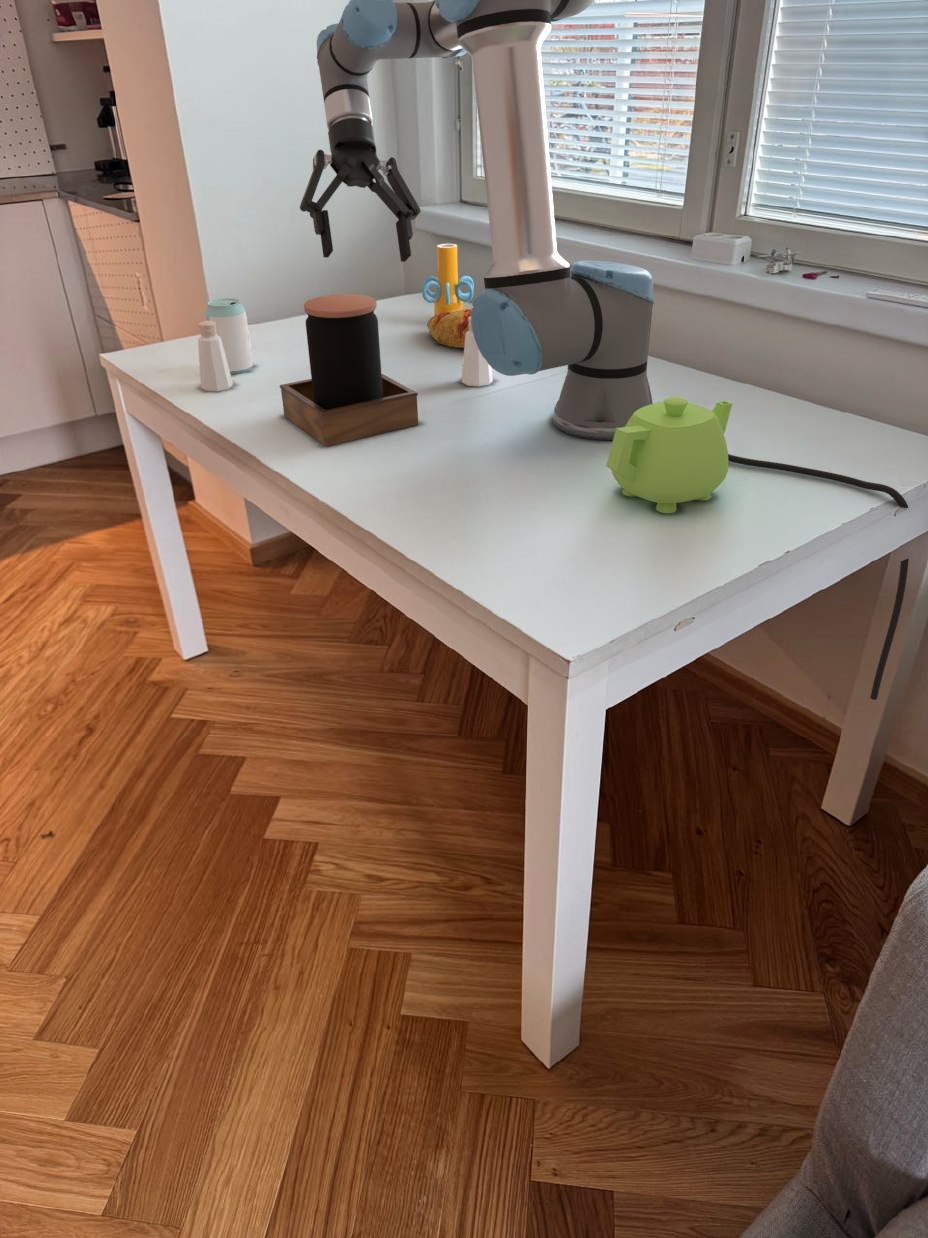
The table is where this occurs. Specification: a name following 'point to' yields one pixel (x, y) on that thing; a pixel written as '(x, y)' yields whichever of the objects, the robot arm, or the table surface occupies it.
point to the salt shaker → (212, 359)
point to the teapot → (671, 452)
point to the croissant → (450, 327)
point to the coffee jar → (343, 350)
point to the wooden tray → (350, 412)
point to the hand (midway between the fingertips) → (368, 256)
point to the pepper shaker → (474, 363)
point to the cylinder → (447, 282)
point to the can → (232, 332)
